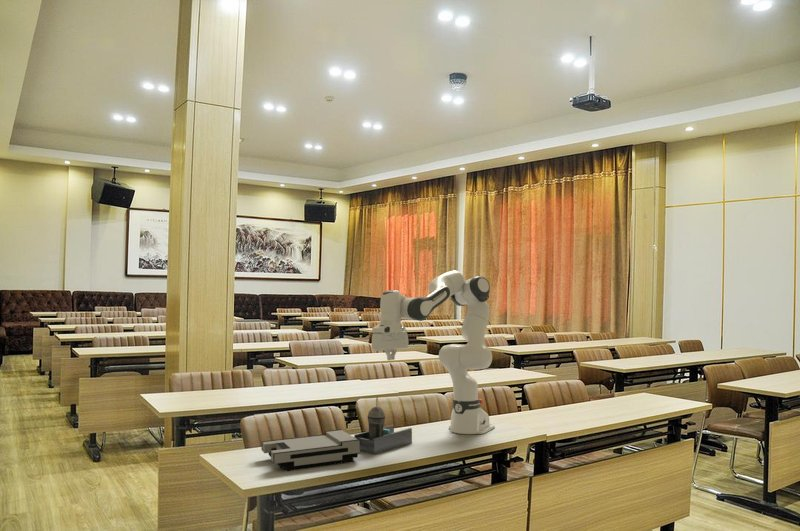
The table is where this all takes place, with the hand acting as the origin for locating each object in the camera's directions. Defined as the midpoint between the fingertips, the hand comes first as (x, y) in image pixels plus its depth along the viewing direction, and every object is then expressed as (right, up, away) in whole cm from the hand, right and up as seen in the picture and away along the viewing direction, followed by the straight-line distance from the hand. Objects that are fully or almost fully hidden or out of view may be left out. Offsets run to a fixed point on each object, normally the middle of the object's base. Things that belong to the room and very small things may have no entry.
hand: (390, 360), depth 257 cm
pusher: (-4, -32, -12) cm, 35 cm away
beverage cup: (-6, -32, -16) cm, 37 cm away
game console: (-30, -34, -31) cm, 55 cm away
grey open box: (-3, -34, -11) cm, 36 cm away
